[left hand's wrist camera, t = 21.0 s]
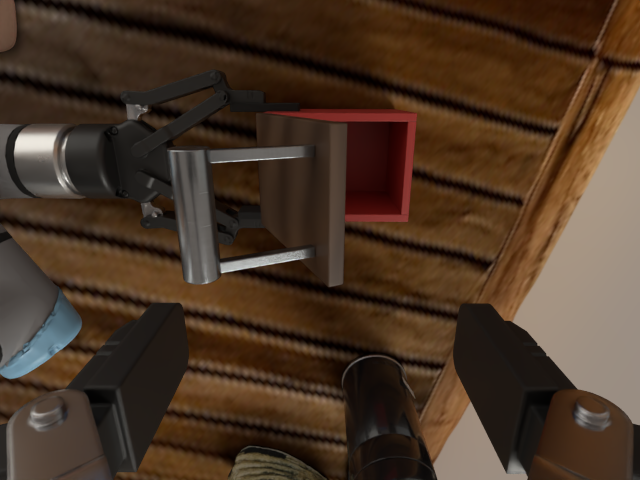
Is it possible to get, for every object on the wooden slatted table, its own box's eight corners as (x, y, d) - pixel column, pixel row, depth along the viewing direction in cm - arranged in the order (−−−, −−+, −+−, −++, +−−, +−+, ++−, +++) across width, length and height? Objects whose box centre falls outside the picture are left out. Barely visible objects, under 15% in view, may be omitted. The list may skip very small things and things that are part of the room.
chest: (395, 109, 45) (417, 113, 35) (389, 195, 48) (408, 221, 38) (275, 108, 45) (262, 112, 35) (278, 195, 48) (267, 221, 38)
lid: (348, 122, 22) (167, 127, 18) (343, 284, 25) (191, 317, 22) (267, 112, 34) (150, 114, 31) (272, 222, 38) (167, 236, 34)
